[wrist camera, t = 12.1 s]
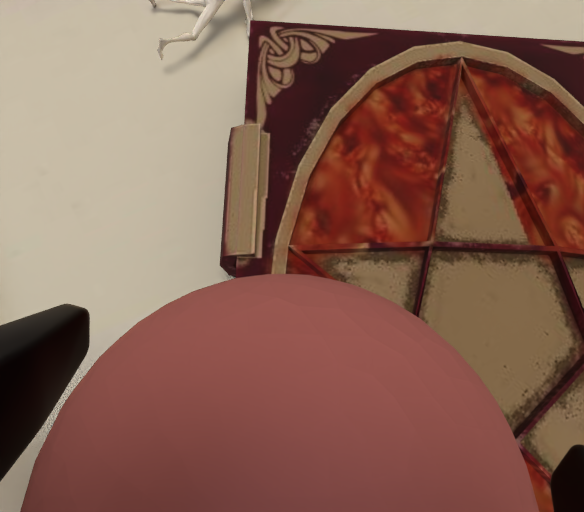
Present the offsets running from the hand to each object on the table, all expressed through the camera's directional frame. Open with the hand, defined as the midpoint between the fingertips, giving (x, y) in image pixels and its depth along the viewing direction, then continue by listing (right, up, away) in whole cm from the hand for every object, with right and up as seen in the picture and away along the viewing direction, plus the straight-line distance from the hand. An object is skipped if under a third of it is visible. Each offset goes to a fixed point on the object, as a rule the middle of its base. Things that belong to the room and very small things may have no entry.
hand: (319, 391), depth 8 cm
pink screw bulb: (-1, -4, +7) cm, 8 cm away
